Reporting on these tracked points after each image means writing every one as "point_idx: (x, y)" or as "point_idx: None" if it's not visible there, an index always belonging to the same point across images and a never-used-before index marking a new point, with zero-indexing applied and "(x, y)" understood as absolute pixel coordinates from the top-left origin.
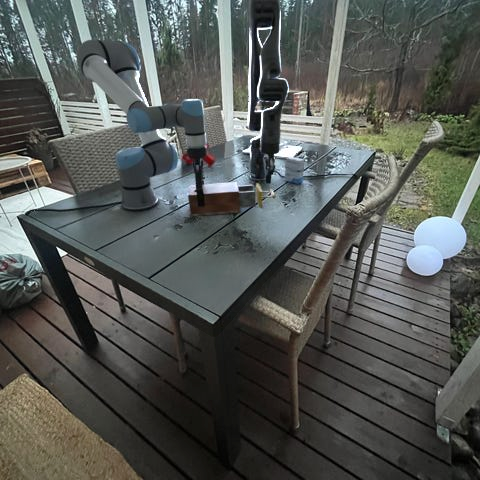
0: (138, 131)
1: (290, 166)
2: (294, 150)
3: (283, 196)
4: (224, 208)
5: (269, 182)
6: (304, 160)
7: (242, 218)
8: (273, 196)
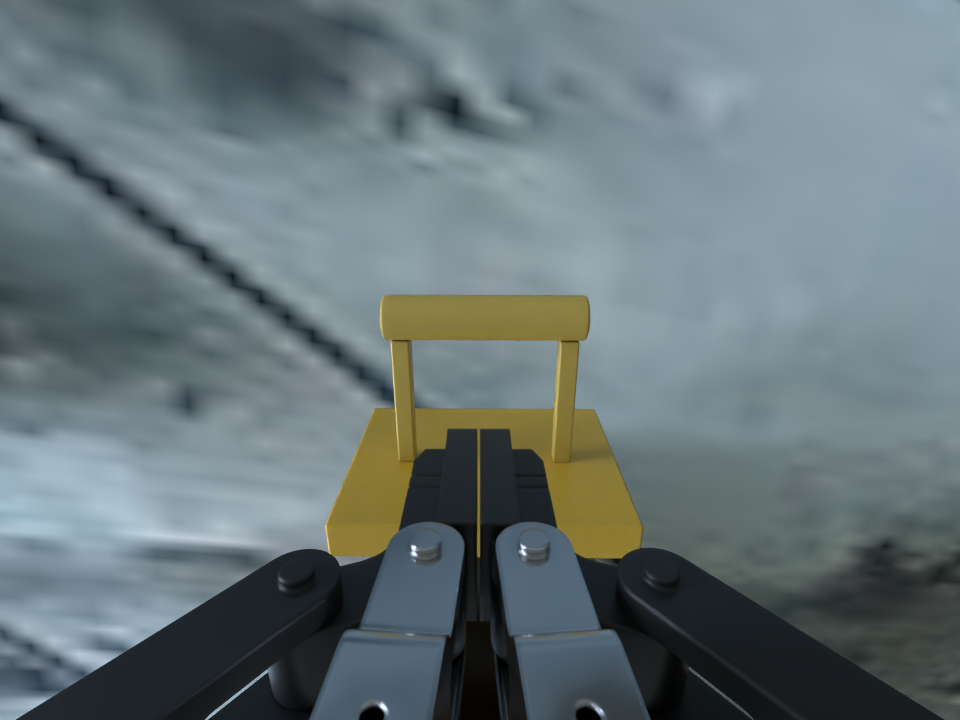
0: None
1: None
2: None
3: (220, 75)
4: None
5: (533, 464)
6: None
7: (669, 547)
8: (586, 328)
